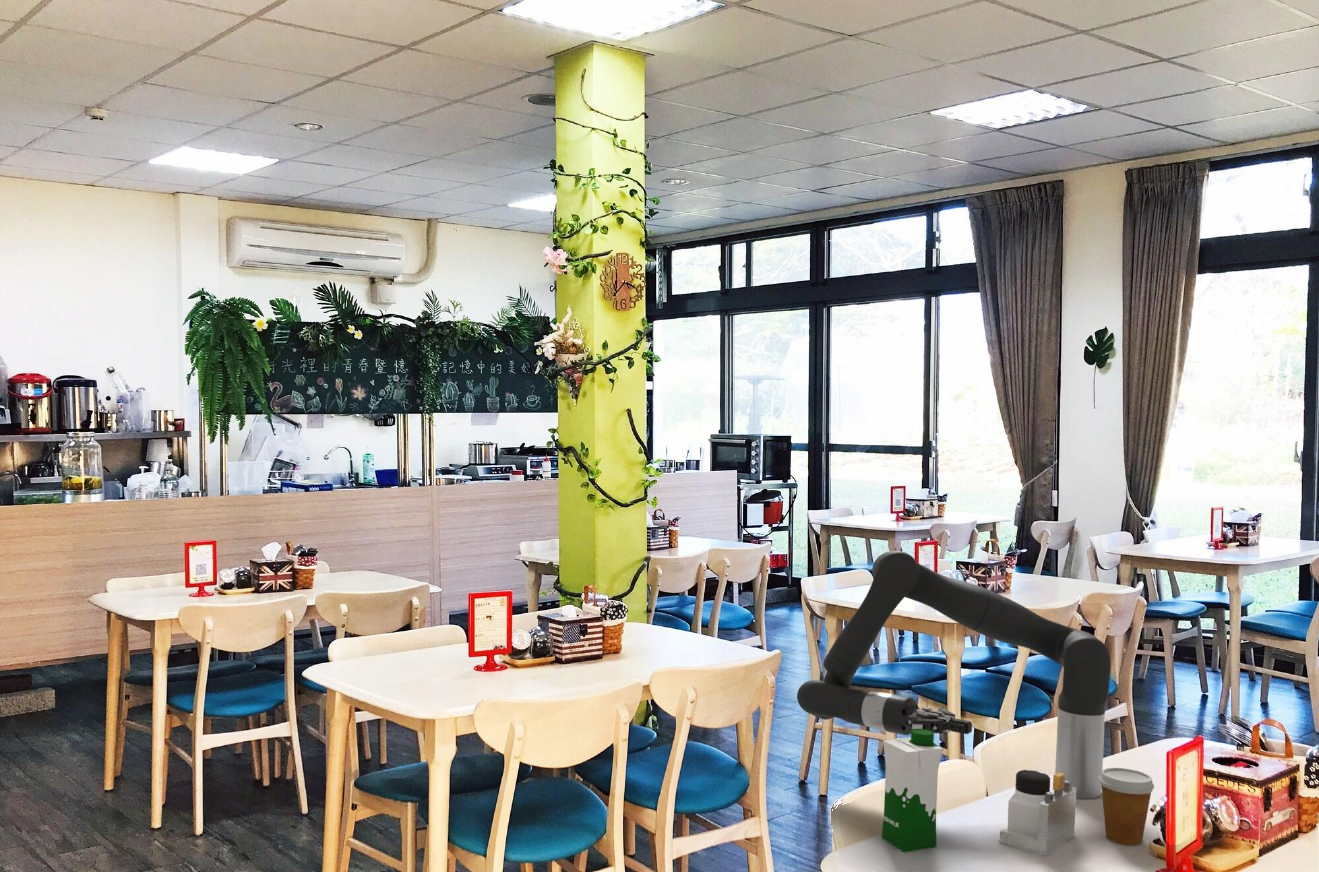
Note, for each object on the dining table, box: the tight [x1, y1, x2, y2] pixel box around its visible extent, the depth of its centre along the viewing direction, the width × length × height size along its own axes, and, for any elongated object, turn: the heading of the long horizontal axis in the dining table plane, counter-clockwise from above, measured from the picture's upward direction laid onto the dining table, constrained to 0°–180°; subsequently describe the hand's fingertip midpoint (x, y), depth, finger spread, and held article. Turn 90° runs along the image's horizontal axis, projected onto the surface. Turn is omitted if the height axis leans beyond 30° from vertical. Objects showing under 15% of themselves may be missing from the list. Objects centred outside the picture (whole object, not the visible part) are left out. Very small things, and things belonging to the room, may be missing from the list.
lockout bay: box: [999, 772, 1077, 857], centre depth 207 cm, size 14×9×13 cm, turn 140°
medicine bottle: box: [1006, 769, 1051, 838], centre depth 208 cm, size 7×7×12 cm
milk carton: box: [881, 729, 944, 853], centre depth 203 cm, size 9×9×20 cm
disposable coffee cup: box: [1099, 767, 1155, 846], centre depth 209 cm, size 10×10×12 cm
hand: (970, 728), depth 216 cm, fingers closed
